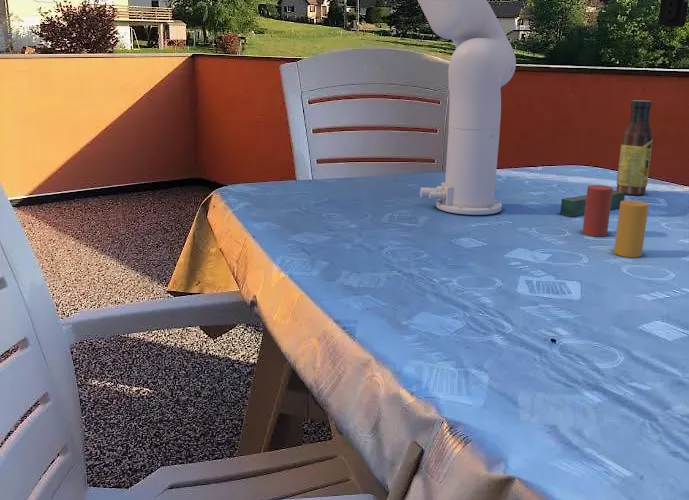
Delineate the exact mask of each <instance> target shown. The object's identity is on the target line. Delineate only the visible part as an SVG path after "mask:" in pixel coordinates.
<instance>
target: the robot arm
mask: <svg viewBox="0 0 689 500" xmlns="http://www.w3.org/2000/svg"><path fill="white" fill-rule="evenodd" d="M417 2H418V5H419V6H420V9H421V10H422V12H423V14H424V16H425V18H426V20H427V23H428V24H429V25H430V28H431V30H432V31H433V33H434V34H435V35H437V37H440V38H442V39H446V40H451V41H452V43H453V45H454V47H455V50H454V51H453V53H452V54H451V57H450V60H449V63H448V71H447V77H448V78H447V79H448V95H449V98H448V99H449V100H448V101H449V104H448V105H449V107H448V108H449V110H448V129H447V130H448V131H447V147H446V150H447V151H446V161H445V178H444V179H445V180H444V181H443V182H440V183H441V184H440V185H437V186H436V187H420V189H419V196H420V198H429V199H430V200H435V199H436V200H435V207H436V208H437V209H438V210H440V211H443V212H447V213H451V214H457V215H464V216H465V215H466V216H486V215H493V214H497V213H500V212H501V211H502V209H503V204H502V202H501V201H499V200H496V199H495V196H496V194H495V193H496V182H497V170H498V169H497V168H498V158H499V146H500V145H499V144H500V135H501V134H500V131H501V120H502V119H501V117H502V91H501V89H502V87H503V86H505V85H507V84H508V83H509V82H510V81H511V79H512V78H513V76H514V74H515V71H516V67H517V58H516V54H515V51H514V49H513V47H512V44H511V43H510V41H509V38H508V37H507V35H506V33H505V30H504V29H503V28H502V25H501V24H500V22H499V20H498V18H497V16H496V14H495V12H494V10H493V8H492V6H491V4H490V3H489V2H488V0H417ZM659 5H660V6H659V13H658V21H657V24H658V25H659V26H663V27H665V28H683V27H685V25H686V19H687V12H688V7H689V1H688V0H660V4H659Z"/></svg>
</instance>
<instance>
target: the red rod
mask: <svg viewBox="0 0 689 500" xmlns="http://www.w3.org/2000/svg"><path fill="white" fill-rule="evenodd" d="M613 190H614V188H613V187H611V186H609V185H603V184H602V185H601V184H591V185H588V186H587V189H586V195H587V197H586V205H585V214H584V215H583V222H582V224H583V225H582V234H583V235H586V236H590V237H607V235H608V230H609V223H610V222H609V221H610V214H611V210H610V208H611V200H612V192H613Z"/></svg>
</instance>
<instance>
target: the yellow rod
mask: <svg viewBox="0 0 689 500" xmlns="http://www.w3.org/2000/svg"><path fill="white" fill-rule="evenodd" d="M649 206H650V204H649V202H645V201H641V200H634V199H624V201H621V202H620V208H618V210H619V212H618V216H617V217H618V218H617V226H616V232H615V240H614V248H613V254H615V255H618V256H619V257H620V256H621V257H626V258H639V257H642V255H643V248H644V241H645V234H646V229H647V228H646V227H647V221H648V220H647V219H648V215H649Z"/></svg>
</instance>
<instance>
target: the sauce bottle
mask: <svg viewBox="0 0 689 500" xmlns="http://www.w3.org/2000/svg"><path fill="white" fill-rule="evenodd" d="M630 101H631V102H630V117H629V123H628V124H627V125H626V127H625V128H624V130H623V131H622V138H621V144H620V149H619V157H618V167H617V177H616V191H619V192H624V193H625V195H630V196H631V195H633V196H638V195H639V196H641V195H645V194H646V190H647V186H648V180H649V175H650V167H651V166H650V165H651V158H652V149H653V142H654V138H653V134H652V133H653V132H652V129H651V123H650V114H651V108H652V104H653V102H652V101H651V100H644V99H643V100H641V99H640V100H639V99H635V100H630Z"/></svg>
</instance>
